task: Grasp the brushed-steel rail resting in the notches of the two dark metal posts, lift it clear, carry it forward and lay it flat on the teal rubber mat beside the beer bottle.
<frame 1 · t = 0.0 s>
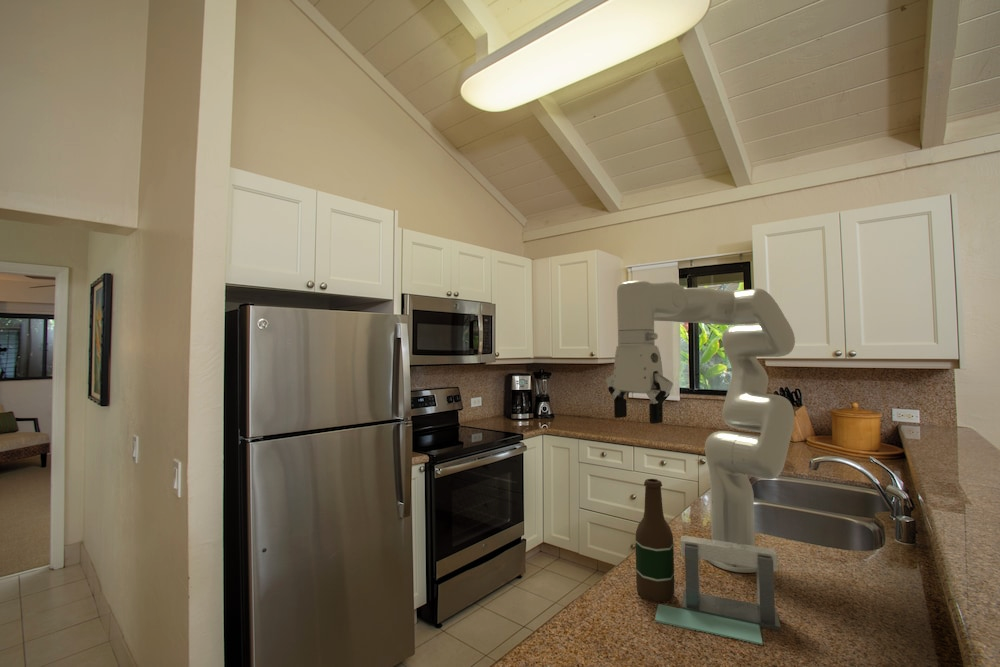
hand: (637, 420, 97), 37 cm above the counter, tool pointing down, fingers open, 9 cm apart
rail: (727, 560, 92), point 10 cm above the counter, touching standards
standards: (728, 611, 91), on the counter
mat: (706, 624, 87), on the counter
beer bottle: (655, 594, 98), on the counter
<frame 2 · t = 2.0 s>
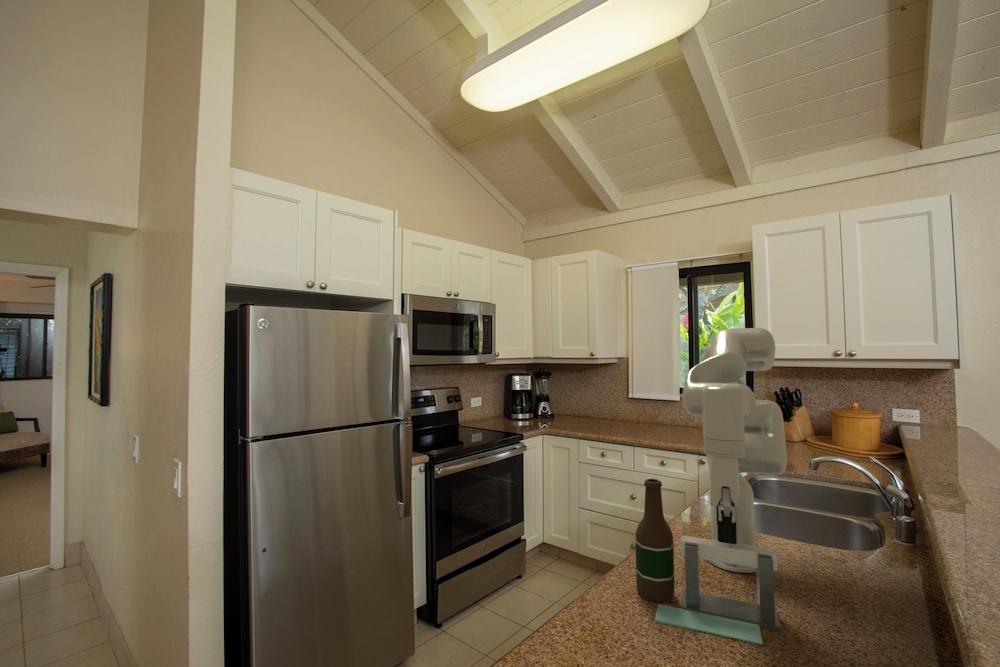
hand: (726, 534, 91), 15 cm above the counter, tool pointing down, fingers open, 9 cm apart
nothing on the counter moved.
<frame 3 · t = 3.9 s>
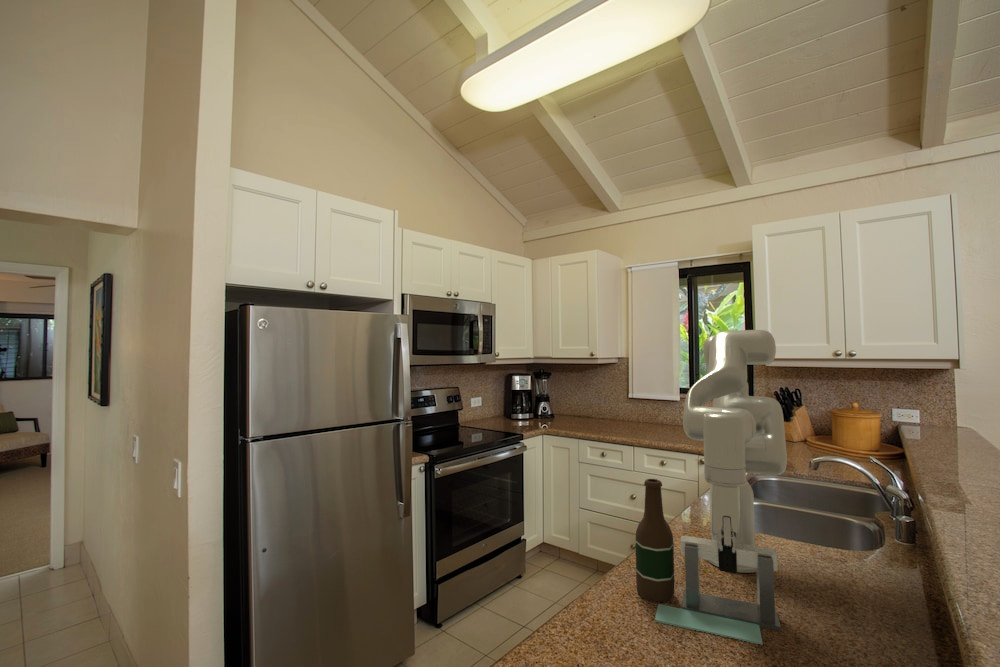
hand: (727, 566, 92), 9 cm above the counter, tool pointing down, fingers closed on rail, 3 cm apart
rail: (727, 560, 92), point 10 cm above the counter, touching gripper, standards
everything else where it was.
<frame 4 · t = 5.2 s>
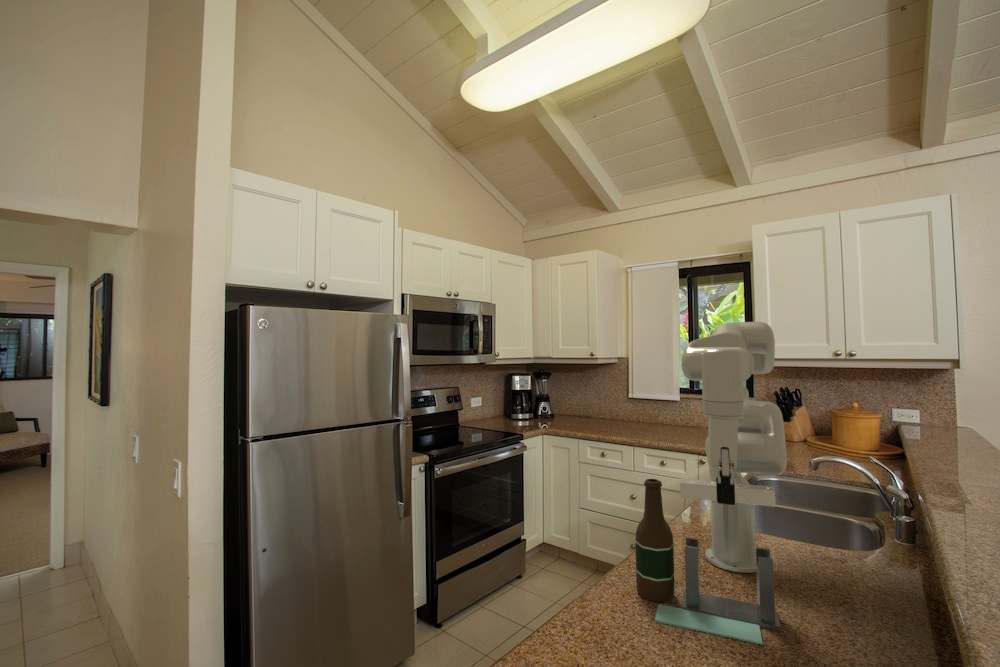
hand: (725, 499, 92), 22 cm above the counter, tool pointing down, fingers closed on rail, 3 cm apart
rail: (725, 499, 92), point 22 cm above the counter, touching gripper
everything else where it was.
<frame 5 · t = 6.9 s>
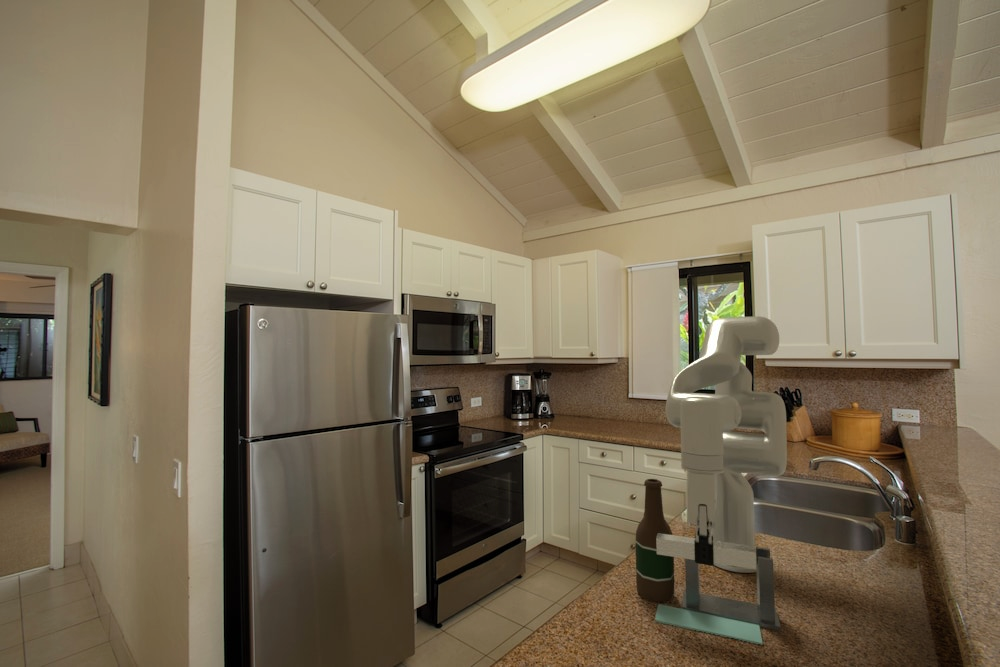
hand: (704, 559, 87), 12 cm above the counter, tool pointing down, fingers closed on rail, 3 cm apart
rail: (704, 558, 87), point 12 cm above the counter, touching gripper
everything else where it was.
when the fingers open (1 cm above the counter, at t = 9.1 s): rail stays where it is, resting on mat.
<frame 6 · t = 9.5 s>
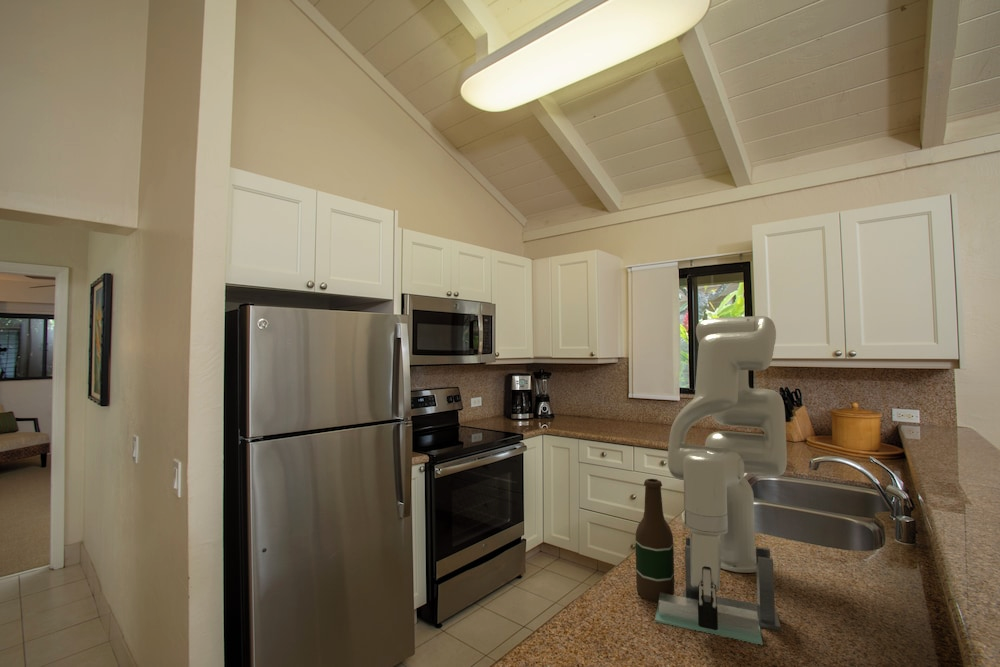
hand: (707, 616, 86), 2 cm above the counter, tool pointing down, fingers open, 7 cm apart
rail: (707, 621, 87), resting on mat
everything else where it was.
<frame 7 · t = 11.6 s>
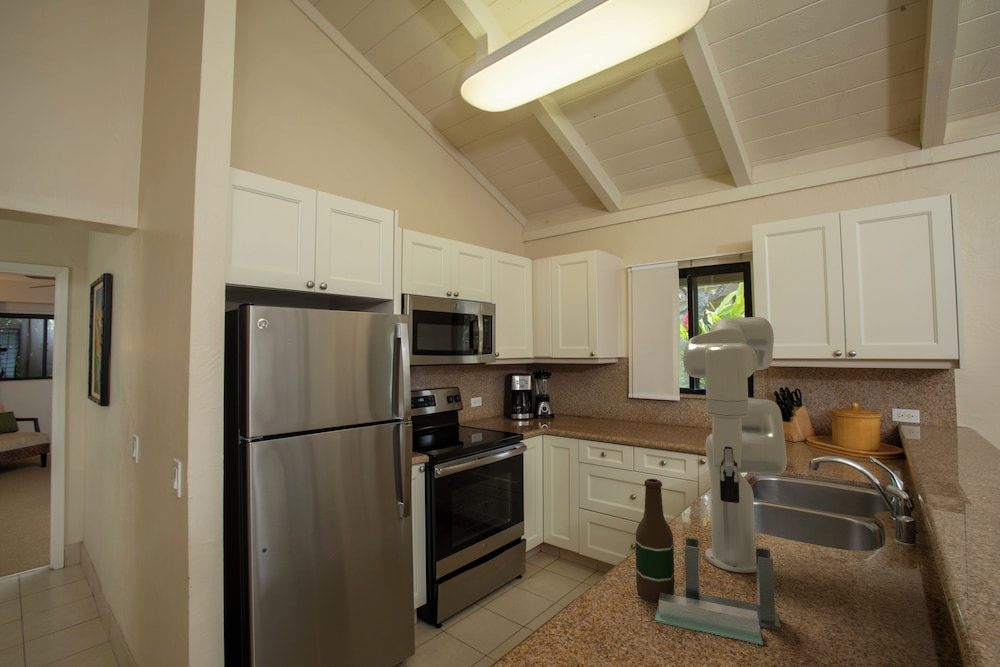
hand: (729, 493, 92), 23 cm above the counter, tool pointing down, fingers open, 9 cm apart
nothing on the counter moved.
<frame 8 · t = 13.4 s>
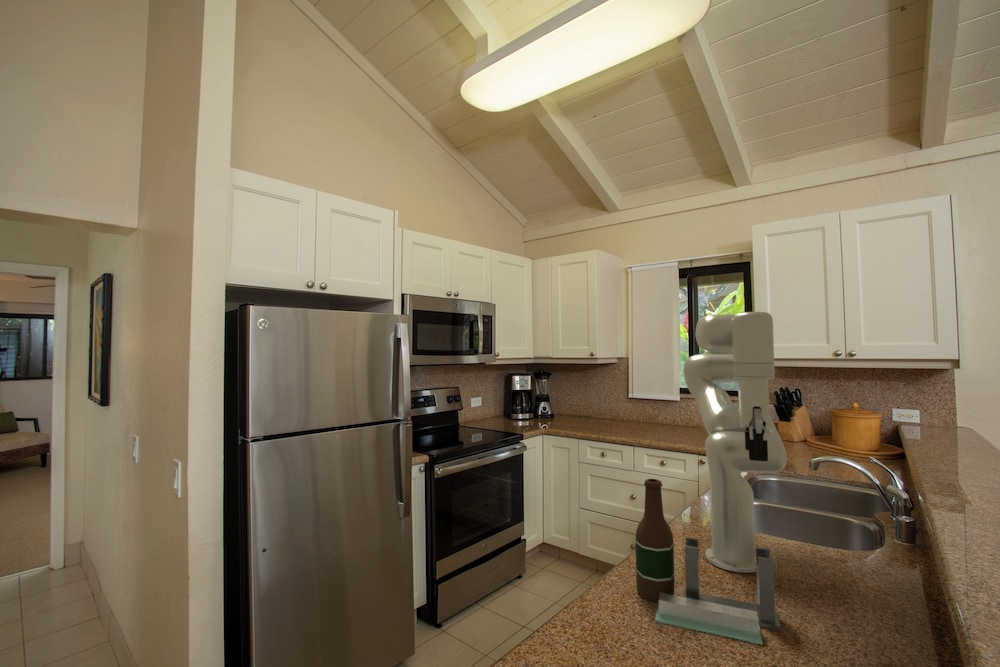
hand: (756, 455, 94), 30 cm above the counter, tool pointing down, fingers open, 9 cm apart
nothing on the counter moved.
at the end: rail inside the target area on the mat (0.1 cm from its centre), point 0.4 cm above the mat's base; rail touching mat; rail resting on mat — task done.
